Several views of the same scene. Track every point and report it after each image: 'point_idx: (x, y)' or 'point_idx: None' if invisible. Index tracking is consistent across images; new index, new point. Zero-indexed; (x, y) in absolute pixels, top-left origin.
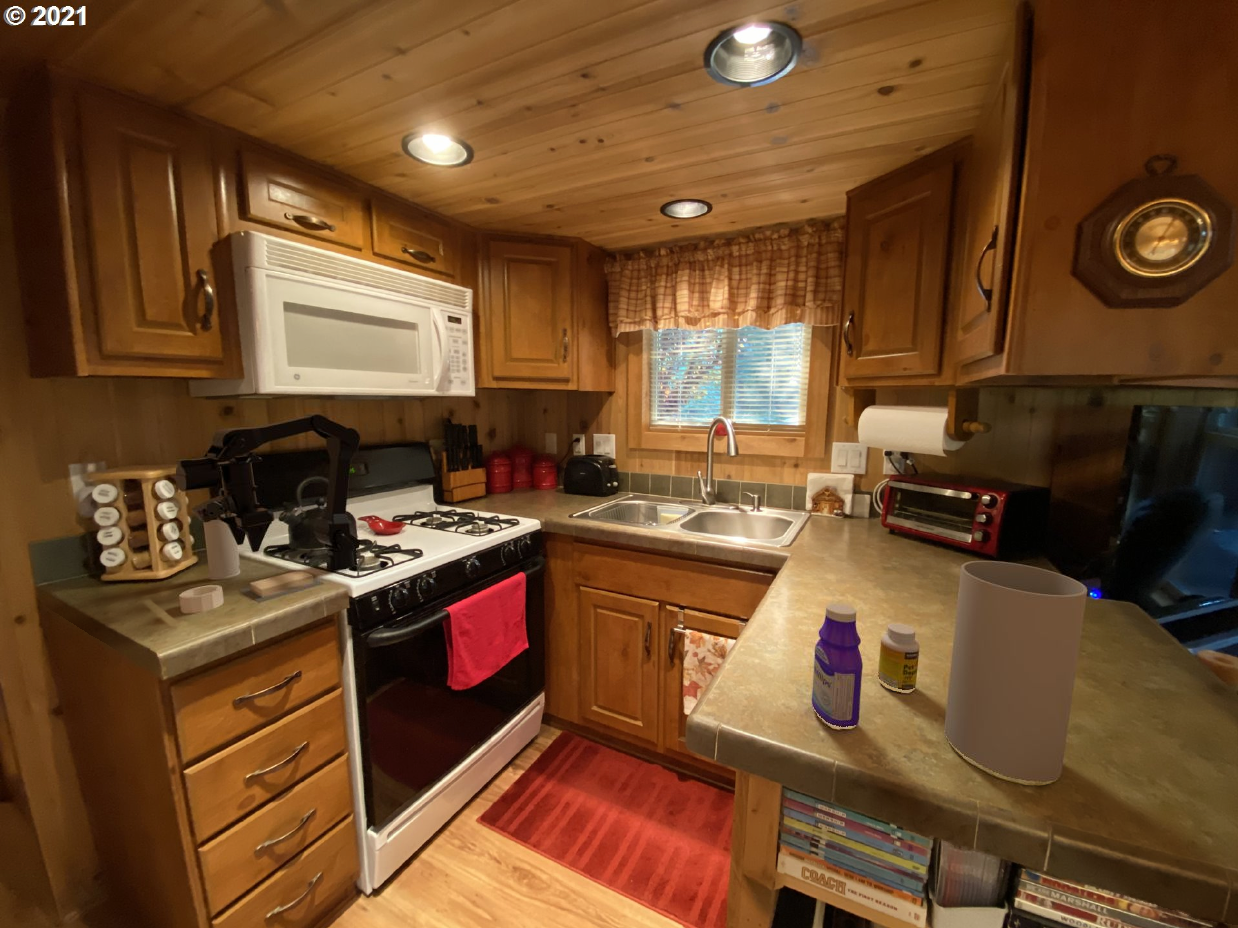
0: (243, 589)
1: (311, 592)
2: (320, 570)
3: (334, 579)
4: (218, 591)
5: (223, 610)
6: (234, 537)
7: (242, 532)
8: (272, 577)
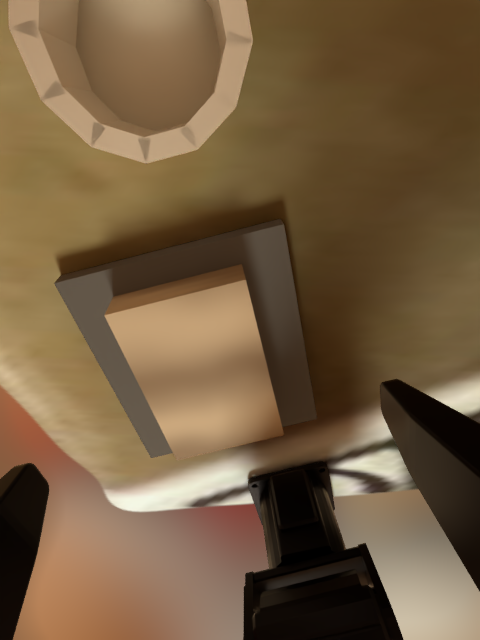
0: (284, 241)
1: (124, 415)
2: (342, 449)
3: (214, 469)
4: (85, 139)
5: None
6: (439, 427)
7: (452, 522)
8: (259, 357)
